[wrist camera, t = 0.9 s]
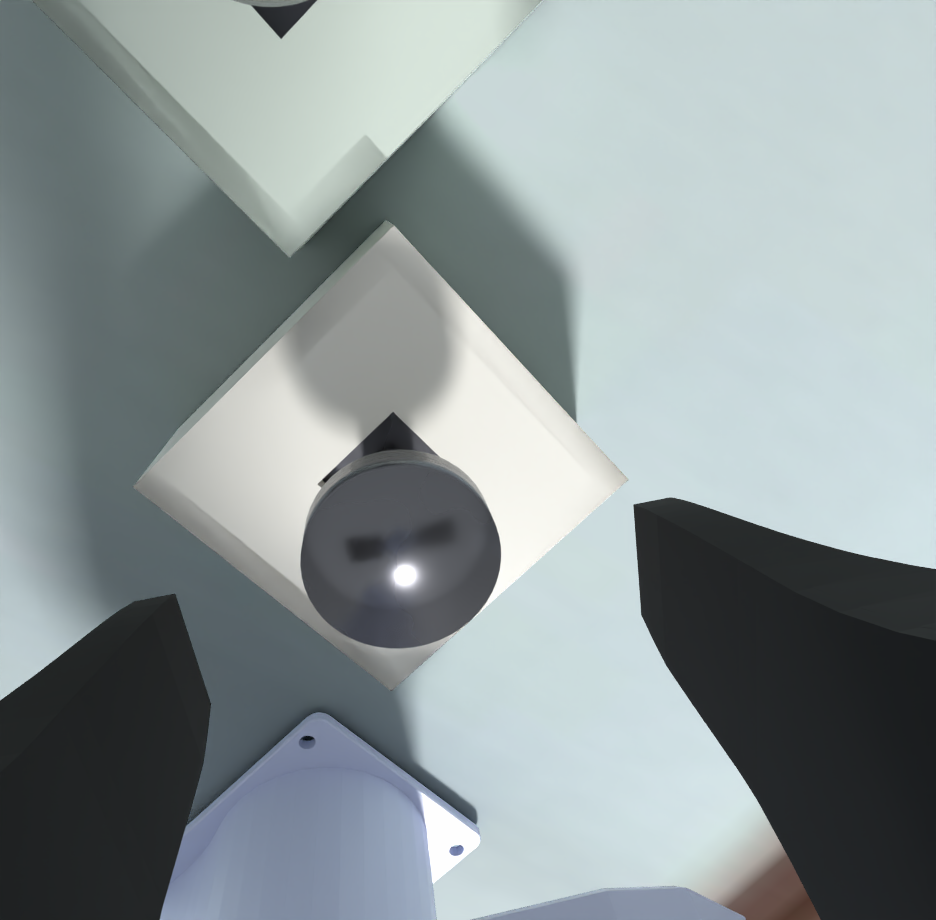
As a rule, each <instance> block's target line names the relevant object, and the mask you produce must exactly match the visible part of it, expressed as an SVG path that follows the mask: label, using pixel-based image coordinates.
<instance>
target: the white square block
mask: <svg viewBox="0 0 936 920" xmlns="http://www.w3.org/2000/svg"><path fill="white" fill-rule="evenodd" d="M392 412H394V413H395V414H396V415H397V416H398V417H399V418H400V419H401V420H402V421H403V422H404V423H405V424H406V425H407V426H408V427H409V428H410V429H411V430H412V431H413V432H414V433H415V434H417V435H418V436H419V437H420V438H421V439H422V440H423V441H424V442H425V443H426V444H427V445H428V446H429V447H430V448H431V449H432V450H433V451H434V452H435V453H436V454H437V455H438V456H439V457H440V458H443V459H445V460H447V461H449V462H450V463H452V464H454V465H455V466H457V467H458V468H460V469H461V470H462V471H463V472H464V473H465V474H467V475H468V476H469V477H470V479H471V480H472V481H473V482H474V483H475V484H476V486H477V487H478V489H479V490H480V492H481V493H482V495H483V497H484V499H485V501H486V503H487V506H488V508H489V510H490V513H491V515H492V517H493V520H494V522H495V524H496V527H497V531H498V534H499V538H500V544H501V564H500V571H499V575H498V579H497V582H496V584H495V587H494V589H493V592H492V594H491V595H490V597H489V599H488V600H487V602H486V604H485V605H484V606H483V607H482V609H481V610H480V611H479V613H480V612H481V611H482V610H483V609H484V608H485V607H487V606H488V605H489V604H490V603H491V602H492V601H493V600H494V599H496V598H497V597H498V596H499V595H500V594H501V593H502V592H503V591H504V590H506V589H507V588H508V587H509V586H510V585H511V584H512V583H513V582H515V581H516V580H517V579H518V578H519V577H520V576H521V575H522V574H524V573H525V572H526V571H527V570H528V569H529V568H530V567H531V566H533V565H534V564H535V563H536V562H537V561H538V560H539V559H540V558H541V557H543V556H544V555H545V554H546V553H547V552H548V551H549V550H550V549H552V548H553V547H554V546H555V545H556V544H557V543H558V542H559V541H561V540H562V539H563V538H564V537H565V536H566V535H567V534H568V533H569V532H571V531H572V530H573V529H574V528H575V527H576V526H577V525H578V524H580V523H581V522H582V521H583V520H584V519H585V518H586V517H587V516H589V515H590V514H591V513H592V512H593V511H594V510H595V509H596V508H598V507H599V506H600V505H601V504H602V503H603V502H604V501H605V500H606V499H608V498H609V497H610V496H611V495H612V494H613V493H614V492H615V491H617V490H618V489H619V488H620V487H621V486H622V485H623V484H624V483H626V482H627V481H628V478H627V477H626V476H625V475H624V474H623V473H622V472H621V471H620V470H619V469H618V468H617V467H616V465H615V464H614V463H613V462H612V461H611V460H610V459H609V458H608V457H607V456H606V455H605V454H604V452H603V451H602V450H601V449H600V448H599V447H598V446H597V445H596V444H595V443H594V442H593V441H592V439H591V438H590V437H589V436H588V435H587V434H586V433H585V432H584V431H583V430H582V429H581V428H580V426H579V425H578V424H577V423H576V422H575V421H574V420H573V419H572V418H571V417H570V416H569V415H568V413H567V412H566V411H565V410H564V409H563V408H562V407H561V406H560V405H559V404H558V403H557V402H556V400H555V399H554V398H553V397H552V396H551V395H550V394H549V393H548V392H547V391H546V390H545V389H544V387H543V386H542V385H541V384H540V383H539V382H538V381H537V380H536V379H535V378H534V377H533V375H532V374H531V373H530V372H529V371H528V370H527V369H526V368H525V367H524V366H523V365H522V364H521V362H520V361H519V360H518V359H517V358H516V357H515V356H514V355H513V354H512V353H511V352H510V351H509V349H508V348H507V347H506V346H505V345H504V344H503V343H502V342H501V341H500V340H499V339H498V338H497V336H496V335H495V334H494V333H493V332H492V331H491V330H490V329H489V328H488V327H487V326H486V325H485V323H484V322H483V321H482V320H481V319H480V318H479V317H478V316H477V315H476V314H475V313H474V312H473V310H472V309H471V308H470V307H469V306H468V305H467V304H466V303H465V302H464V301H463V300H462V299H461V297H460V296H459V295H458V294H457V293H456V292H455V291H454V290H453V289H452V288H451V287H450V285H449V284H448V283H447V282H446V281H445V280H444V279H443V278H442V277H441V276H440V275H439V274H438V272H437V271H436V270H435V269H434V268H433V267H432V266H431V265H430V264H429V263H428V262H427V261H426V259H425V258H424V257H423V256H422V255H421V254H420V253H419V252H418V251H417V250H416V249H415V248H414V246H413V245H412V244H411V243H410V242H409V241H408V240H407V239H406V238H405V237H404V236H403V235H402V233H401V232H400V231H399V230H398V229H397V228H396V227H395V226H394V225H393V224H391V223H390V222H388V221H387V220H385V221H384V222H383V223H382V224H381V225H380V226H379V227H378V228H377V229H376V230H375V231H374V232H373V233H372V234H371V235H370V236H369V237H368V238H367V239H366V240H365V241H364V242H363V243H362V244H361V245H360V246H359V247H358V248H357V249H356V250H355V251H354V252H353V253H352V254H351V255H350V256H349V257H348V258H347V259H346V260H345V261H344V262H343V263H342V264H341V265H340V266H339V267H338V268H337V269H336V270H335V271H334V272H333V273H332V274H331V275H330V276H329V277H328V278H327V279H326V280H325V281H324V282H323V283H322V284H321V285H320V286H319V287H318V288H317V289H316V290H315V291H314V292H313V293H312V294H311V295H310V296H309V297H308V298H307V300H306V301H305V302H304V303H303V304H302V305H301V306H300V307H299V308H298V309H297V310H296V311H295V312H294V313H293V314H292V315H291V316H290V317H289V318H288V319H287V320H286V321H285V322H284V323H283V324H282V325H281V326H280V327H279V328H278V329H277V330H276V331H275V332H274V333H273V334H272V335H271V336H270V337H269V338H268V339H267V340H266V341H265V342H264V343H263V344H262V345H261V346H260V347H259V348H258V349H257V350H256V351H255V352H254V353H253V354H252V355H251V356H250V357H249V358H248V359H247V360H246V361H245V362H244V363H243V364H242V365H241V366H240V367H239V368H238V369H237V370H236V371H235V372H234V373H233V374H232V375H231V376H230V377H229V378H228V379H227V380H226V381H225V382H224V383H223V384H222V385H221V386H220V387H219V388H218V389H217V390H216V391H215V392H214V393H213V394H212V395H211V396H210V397H209V398H208V399H207V400H206V401H205V402H204V403H203V404H202V405H201V406H200V407H199V408H198V409H197V410H196V411H195V412H194V413H193V414H192V415H191V416H190V417H189V418H188V419H187V420H186V421H185V422H184V423H183V424H182V425H181V426H180V427H179V428H178V430H177V431H176V432H175V433H174V435H173V436H172V437H171V439H170V440H169V441H168V442H167V444H166V445H165V446H164V448H163V449H162V450H161V451H160V453H159V454H158V455H157V457H156V458H155V459H154V460H153V462H152V463H151V464H150V466H149V467H148V468H147V469H146V471H145V472H144V473H143V475H142V476H141V477H140V478H139V480H138V481H137V482H136V484H135V485H134V486H133V487H134V488H135V489H136V490H138V491H139V492H140V493H141V494H143V495H144V496H145V497H146V498H148V499H149V500H150V501H151V502H153V503H154V504H155V505H156V506H158V507H159V508H160V509H162V510H163V511H164V512H165V513H167V514H168V515H169V516H170V517H172V518H173V519H174V520H175V521H177V522H178V523H179V524H180V525H182V526H183V527H184V528H186V529H187V530H188V531H189V532H191V533H192V534H193V535H194V536H196V537H197V538H198V539H199V540H201V541H202V542H203V543H205V544H206V545H207V546H208V547H210V548H211V549H212V550H213V551H215V552H216V553H217V554H218V555H220V556H221V557H222V558H223V559H225V560H226V561H227V562H229V563H230V564H231V565H232V566H234V567H235V568H236V569H237V570H239V571H240V572H241V573H242V574H244V575H245V576H246V577H247V578H249V579H250V580H251V581H253V582H254V583H255V584H256V585H258V586H259V587H260V588H261V589H263V590H264V591H265V592H266V593H268V594H269V595H270V596H271V597H273V598H274V599H275V600H277V601H278V602H279V603H280V604H282V605H283V606H284V607H285V608H287V609H288V610H289V611H290V612H292V613H293V614H294V615H296V616H297V617H298V618H299V619H301V620H302V621H303V622H304V623H306V624H307V625H308V626H309V627H311V628H312V629H313V630H314V631H316V632H317V633H318V634H320V635H321V636H322V637H323V638H325V639H326V640H327V641H328V642H330V643H331V644H332V645H333V646H335V647H336V648H337V649H338V650H340V651H341V652H342V653H344V654H345V655H346V656H347V657H349V658H350V659H351V660H352V661H354V662H355V663H356V664H357V665H359V666H360V667H361V668H362V669H364V670H365V671H366V672H368V673H369V674H370V675H371V676H373V677H374V678H375V679H376V680H378V681H379V682H380V683H381V684H383V685H384V686H385V687H387V688H388V689H389V690H390V691H392V690H394V689H395V688H396V687H397V686H398V685H399V684H400V683H401V682H403V681H404V680H405V679H406V678H407V677H408V676H409V675H410V674H411V673H413V672H414V671H415V670H416V669H417V668H418V667H419V666H420V665H422V664H423V663H424V662H425V661H426V660H427V659H428V658H429V657H431V656H432V655H433V654H434V653H435V652H436V651H437V650H438V649H440V648H441V647H442V646H443V645H444V644H445V643H446V642H447V641H448V640H450V639H451V638H452V637H453V636H454V635H455V634H456V633H457V632H459V631H460V630H461V629H462V628H463V627H464V626H465V625H464V626H463V627H462V628H461V629H459V630H458V631H456V632H454V633H453V634H451V635H449V636H447V637H445V638H443V639H441V640H439V641H436V642H433V643H430V644H427V645H422V646H418V647H412V648H402V649H397V648H382V647H375V646H371V645H367V644H364V643H361V642H358V641H356V640H353V639H351V638H349V637H347V636H345V635H343V634H342V633H340V632H339V631H337V630H336V629H335V628H333V627H332V626H331V625H330V624H329V623H327V622H326V621H325V620H324V619H323V618H322V616H321V615H320V614H319V613H318V612H317V610H316V609H315V608H314V606H313V604H312V603H311V601H310V599H309V597H308V595H307V593H306V590H305V588H304V584H303V580H302V576H301V567H300V559H301V548H302V542H303V535H304V529H305V524H306V518H307V515H308V512H309V509H310V506H311V505H312V503H313V501H314V499H315V497H316V495H317V494H318V492H319V491H320V489H321V488H322V486H323V485H324V484H325V482H324V481H323V480H322V479H323V478H324V477H325V476H326V475H327V474H328V473H330V472H331V471H332V470H333V469H334V468H335V467H336V466H337V465H338V464H339V463H340V462H341V461H342V460H343V459H344V458H345V457H346V456H347V455H348V454H349V453H350V452H351V451H352V450H354V449H355V448H356V447H357V446H358V445H359V444H360V443H361V442H362V441H363V440H364V439H365V438H366V437H367V436H368V435H369V434H370V433H371V432H372V431H373V430H374V429H375V428H376V427H378V426H379V425H380V424H381V423H382V422H383V421H384V420H385V419H386V418H387V417H388V416H389V415H390V414H391V413H392ZM479 613H478V614H479ZM478 614H477V615H478ZM468 623H469V622H468ZM468 623H467V624H468Z"/></svg>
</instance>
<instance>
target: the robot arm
mask: <svg viewBox="0 0 936 920" xmlns="http://www.w3.org/2000/svg"><path fill="white" fill-rule="evenodd" d="M634 518H635V532H636V546H637V560H638V574H639V587H640V601H641V615H642V617H643V619H644V621H645V623H646V626H647V628H648V630H649V632H650V634H651V636H652V638H653V640H654V642H655V644H656V646H657V648H658V650H659V652H660V654H661V656H662V658H663V660H664V662H665V664H666V666H667V667H668V669H669V670H670V672H671V673H672V675H673V676H674V678H675V679H676V681H677V682H678V684H679V685H680V687H681V688H682V690H683V691H684V692H685V694H686V695H687V697H688V698H689V700H690V701H691V703H692V704H693V706H694V707H695V709H696V710H697V711H698V713H699V714H700V716H701V717H702V719H703V720H704V722H705V723H706V724H707V726H708V727H709V729H710V730H711V732H712V733H713V735H714V736H715V737H716V739H717V740H718V742H719V743H720V745H721V746H722V748H723V749H724V750H725V752H726V753H727V755H728V756H729V758H730V759H731V761H732V762H733V763H734V765H735V766H736V768H737V769H738V771H739V772H740V773H741V775H742V777H743V778H744V780H745V781H746V783H747V785H748V786H749V788H750V789H751V791H752V793H753V794H754V796H755V797H756V799H757V800H758V802H759V804H760V806H761V808H762V809H763V811H764V813H765V815H766V817H767V819H768V820H769V822H770V824H771V826H772V828H773V830H774V831H775V833H776V835H777V837H778V839H779V841H780V842H781V844H782V846H783V848H784V850H785V852H786V853H787V855H788V857H789V859H790V861H791V863H792V865H793V867H794V868H795V870H796V872H797V874H798V876H799V878H800V880H801V882H802V884H803V886H804V888H805V890H806V892H807V894H808V896H809V897H810V899H811V901H812V903H813V905H814V907H815V909H816V911H817V913H818V915H819V917H820V919H821V920H936V569H931V568H925V567H919V566H913V565H907V564H903V563H898V562H893V561H888V560H883V559H878V558H873V557H868V556H864V555H859V554H855V553H851V552H847V551H843V550H839V549H835V548H832V547H828V546H824V545H821V544H817V543H814V542H810V541H807V540H803V539H800V538H796V537H793V536H790V535H787V534H784V533H780V532H777V531H774V530H771V529H768V528H765V527H762V526H759V525H756V524H753V523H750V522H747V521H744V520H742V519H739V518H736V517H733V516H730V515H727V514H724V513H721V512H719V511H716V510H713V509H710V508H707V507H704V506H701V505H698V504H695V503H691V502H688V501H684V500H681V499H676V498H665V499H660V500H655V501H650V502H645V503H639V504H634ZM210 708H211V703H210V700H209V697H208V694H207V690H206V687H205V684H204V681H203V678H202V675H201V672H200V669H199V666H198V663H197V660H196V657H195V654H194V650H193V647H192V644H191V641H190V638H189V635H188V632H187V629H186V626H185V623H184V620H183V617H182V614H181V610H180V607H179V604H178V601H177V598H176V595H175V594H171V595H166V596H161V597H155V598H150V599H145V600H140V601H135V602H133V603H131V604H129V605H128V606H126V607H124V608H123V609H121V610H120V611H118V612H117V613H115V614H114V615H112V616H111V617H110V618H108V619H107V620H106V621H104V622H103V623H102V624H100V625H99V626H98V627H96V628H95V629H94V630H92V631H91V632H90V633H89V634H87V635H86V636H85V637H83V638H82V639H81V640H80V641H78V642H77V643H76V644H74V645H73V646H72V647H71V648H69V649H68V650H67V651H65V652H64V653H63V654H62V655H60V656H59V657H58V658H56V659H55V660H54V661H53V662H51V663H50V664H49V665H48V666H46V667H45V668H44V669H42V670H41V671H40V672H39V673H37V674H36V675H35V676H33V677H32V678H31V679H29V680H28V681H26V682H25V683H24V684H22V685H21V686H20V687H18V688H17V689H15V690H14V691H13V692H11V693H10V694H9V695H7V696H6V697H4V698H3V699H2V700H0V920H437V917H436V908H435V900H434V891H433V883H434V882H436V881H437V880H438V879H439V878H440V877H442V876H443V875H444V874H445V873H446V872H447V871H449V870H450V869H451V868H452V867H453V866H455V865H456V864H457V863H458V862H459V861H461V860H462V859H463V858H464V857H465V856H467V855H468V854H469V853H470V852H471V851H473V850H474V849H475V848H476V847H477V846H478V845H479V844H480V840H481V837H480V832H479V828H478V827H477V826H476V824H474V823H473V822H472V821H470V820H469V819H467V818H466V817H465V816H463V815H462V814H461V813H459V812H458V811H457V810H455V809H454V808H453V807H451V806H450V805H449V804H447V803H446V802H445V801H443V800H442V799H441V798H439V797H438V796H437V795H435V794H434V793H433V792H431V791H430V790H429V789H427V788H426V787H425V786H423V785H422V784H421V783H419V782H418V781H417V780H415V779H414V778H413V777H411V776H410V775H409V774H407V773H406V772H405V771H403V770H402V769H401V768H399V767H398V766H397V765H395V764H394V763H393V762H391V761H390V760H389V759H387V758H386V757H385V756H383V755H382V754H381V753H379V752H378V751H376V750H375V749H374V748H372V747H371V746H370V745H368V744H367V743H366V742H364V741H363V740H362V739H360V738H359V737H358V736H356V735H355V734H354V733H352V732H351V731H350V730H348V729H347V728H346V727H344V726H343V725H342V724H340V723H339V722H338V721H336V720H335V719H334V718H332V717H331V716H330V715H328V714H326V713H320V712H318V713H313V714H311V715H309V716H308V717H306V718H305V719H304V720H303V721H302V722H301V723H300V724H299V725H298V726H296V727H295V728H294V729H293V730H292V731H291V732H290V733H289V734H288V735H287V736H285V737H284V738H283V739H282V740H281V741H280V742H279V743H278V744H277V745H275V746H274V747H273V748H272V749H271V750H270V751H269V752H268V753H267V754H266V755H264V756H263V757H262V758H261V759H260V760H259V761H258V762H257V763H256V764H254V765H253V766H252V767H251V768H250V769H249V770H248V771H247V772H246V773H244V774H243V775H242V776H241V777H240V778H239V779H238V780H237V781H236V782H235V783H233V784H232V785H231V786H230V787H229V788H228V789H227V790H226V791H225V792H223V793H222V794H221V795H220V796H219V797H218V798H217V799H216V800H215V801H214V802H212V803H211V804H210V805H209V806H208V807H207V808H206V809H205V810H204V811H202V812H201V813H200V814H199V815H198V816H197V817H196V818H195V819H194V820H193V821H191V822H190V823H189V824H188V825H187V826H186V824H187V821H188V817H189V814H190V810H191V807H192V803H193V799H194V796H195V792H196V789H197V785H198V781H199V778H200V774H201V770H202V766H203V762H204V755H205V748H206V741H207V734H208V725H209V717H210ZM303 736H311V737H313V738H314V739H312V740H311V741H305V740H302V739H301V738H302V737H303ZM455 844H460V845H459V846H457V847H452V846H453V845H455ZM472 920H746V919H745V917H744V916H742V915H740V914H738V913H736V912H734V911H732V910H730V909H728V908H726V907H724V906H722V905H720V904H718V903H716V902H714V901H712V900H710V899H708V898H706V897H704V896H702V895H700V894H698V893H696V892H694V891H692V890H690V889H688V888H683V887H676V886H662V887H633V888H604V889H599V890H595V891H591V892H586V893H582V894H578V895H574V896H569V897H565V898H561V899H557V900H553V901H548V902H544V903H540V904H536V905H531V906H527V907H523V908H519V909H514V910H510V911H506V912H502V913H497V914H493V915H489V916H485V917H481V918H476V919H472Z"/></svg>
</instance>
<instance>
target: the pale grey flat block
mask: <svg viewBox="0 0 936 920" xmlns="http://www.w3.org/2000/svg"><path fill="white" fill-rule="evenodd" d="M32 1H33V2H34V3H35V4H36V5H37V6H38V7H39V8H40V9H41V10H42V11H43V12H44V13H45V14H46V15H47V16H48V17H49V18H50V19H51V20H52V21H53V22H54V23H55V24H56V25H57V26H58V27H59V28H60V29H61V30H62V31H63V32H64V33H65V34H66V35H67V36H68V37H69V38H70V39H71V40H72V41H73V42H74V43H75V44H76V45H77V46H78V47H79V48H80V49H81V50H82V51H83V52H84V53H85V54H86V55H87V56H88V57H89V58H90V59H91V60H92V61H93V62H94V63H95V64H96V65H97V66H98V67H99V68H100V69H101V70H102V71H103V72H104V73H105V74H106V75H107V76H108V77H109V78H110V79H111V80H112V81H113V82H114V83H115V84H116V85H117V86H118V87H119V88H120V89H121V90H122V91H123V92H124V93H125V94H126V95H127V96H128V97H129V98H130V99H131V100H132V101H133V102H134V103H135V104H136V105H137V106H138V107H139V108H140V109H141V110H142V111H143V112H144V113H145V114H146V115H147V116H148V117H149V118H150V119H151V120H152V121H153V122H154V123H155V124H156V125H157V126H158V127H159V128H160V129H161V130H162V131H163V132H164V133H165V134H166V135H167V136H168V137H169V138H170V139H171V140H172V141H173V142H174V143H175V144H176V145H177V146H178V147H179V148H180V149H181V150H182V151H183V152H184V153H185V154H186V155H187V156H188V157H189V158H190V159H191V160H192V161H193V162H194V163H195V164H196V165H197V166H198V167H199V168H200V169H201V170H202V171H203V172H204V173H205V174H206V175H207V176H208V177H209V178H210V179H211V180H212V181H213V182H214V183H215V184H216V185H217V186H218V187H219V188H220V189H221V190H222V191H223V192H224V193H225V194H226V195H227V196H228V197H229V198H230V199H231V200H232V201H233V202H234V203H235V204H236V205H237V206H238V207H239V208H240V209H241V210H242V211H243V212H244V213H245V214H246V215H247V216H248V217H249V218H250V219H251V220H252V221H253V222H254V223H255V224H256V225H257V226H258V227H259V228H260V229H261V230H262V231H263V232H264V233H265V234H266V235H267V236H268V237H269V238H270V239H271V240H272V241H273V242H274V243H275V244H276V245H277V246H278V247H279V248H280V249H281V250H282V251H283V252H284V253H285V254H286V255H287V256H288V257H289V258H290V257H291V256H292V255H293V254H294V253H296V252H297V251H298V250H299V249H300V248H301V247H302V246H304V245H305V244H306V243H307V242H308V241H309V240H310V239H311V238H312V236H313V235H314V234H315V233H316V232H317V231H318V230H319V229H320V228H321V227H322V226H323V225H324V224H325V223H326V222H327V221H328V220H329V219H330V218H331V217H332V216H333V215H334V214H335V213H336V212H337V211H338V210H339V209H340V208H341V207H342V206H343V205H344V204H345V203H346V202H347V201H348V200H349V199H350V198H351V197H352V196H353V195H354V194H355V193H356V192H357V191H358V190H359V189H360V188H361V187H362V186H363V185H364V183H365V182H366V181H367V180H368V179H369V178H370V177H371V176H372V175H373V174H374V173H375V172H376V171H377V170H378V169H379V168H380V167H381V166H382V165H383V164H384V163H385V162H386V161H387V160H388V159H389V158H390V157H391V156H392V155H393V154H394V153H395V152H396V151H397V150H398V149H399V148H400V147H401V146H402V145H403V144H404V143H405V142H406V141H407V140H408V139H409V138H410V137H411V136H412V135H413V134H414V133H415V132H416V130H417V129H418V128H419V127H420V126H421V125H422V124H423V123H424V122H425V121H426V120H427V119H428V118H429V117H430V116H431V115H432V114H433V113H434V112H435V111H436V110H437V109H438V108H439V107H440V106H441V105H442V104H443V103H444V102H445V101H446V100H447V99H448V98H449V97H450V96H451V95H452V94H453V93H454V92H455V91H456V90H457V89H458V88H459V87H460V86H461V85H462V84H463V83H464V82H465V81H466V80H467V79H468V77H469V76H470V75H471V74H472V73H473V72H474V71H475V70H476V69H477V68H478V67H479V66H480V65H481V64H482V63H483V62H484V61H485V60H486V59H487V58H488V57H489V56H490V55H491V54H492V53H493V52H494V51H495V50H496V49H497V48H498V47H499V46H500V45H501V44H502V43H503V42H504V41H505V40H506V39H507V38H508V37H509V36H510V35H511V34H512V33H513V32H514V31H515V30H516V29H517V28H518V27H519V25H520V24H521V23H522V22H523V21H524V20H525V19H526V18H527V17H528V16H529V15H530V14H531V13H532V12H533V11H534V10H535V9H536V8H537V7H538V6H539V5H540V4H541V3H542V2H543V0H317V1H316V2H315V3H314V4H313V5H312V7H311V8H310V9H309V10H308V11H307V12H306V13H305V14H304V15H303V16H302V17H301V18H300V19H299V21H298V22H297V23H296V24H295V25H294V26H293V27H292V28H291V29H290V30H289V31H288V32H287V33H286V34H285V36H284V37H283V38H282V39H280V37H279V36H278V35H277V34H276V33H275V32H274V31H273V30H272V28H271V27H270V26H269V25H268V24H267V23H266V22H265V21H264V19H263V18H262V17H261V16H260V15H259V14H258V13H257V12H256V10H255V9H254V8H253V7H252V6H251V5H247V4H243V3H240V2H236V1H233V0H32Z"/></svg>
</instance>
